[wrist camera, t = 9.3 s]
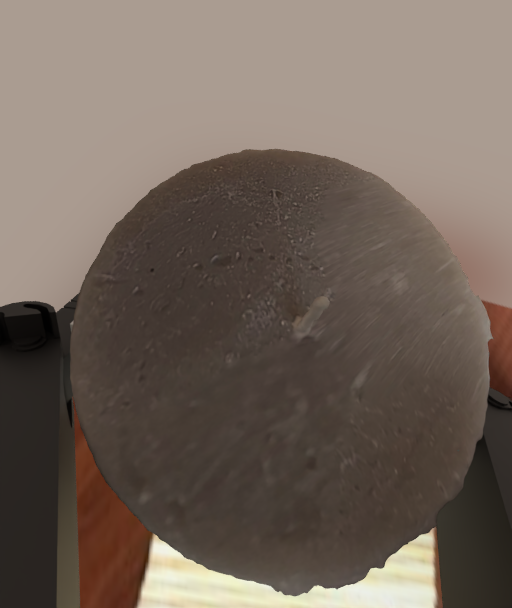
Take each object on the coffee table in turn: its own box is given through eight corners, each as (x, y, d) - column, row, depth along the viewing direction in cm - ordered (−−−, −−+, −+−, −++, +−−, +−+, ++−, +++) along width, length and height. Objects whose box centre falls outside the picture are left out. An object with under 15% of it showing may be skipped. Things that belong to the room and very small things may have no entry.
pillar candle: (161, 303, 19) (9, 100, 5) (293, 283, 21) (460, 91, 7) (180, 453, 17) (15, 837, 3) (325, 417, 19) (661, 543, 5)
